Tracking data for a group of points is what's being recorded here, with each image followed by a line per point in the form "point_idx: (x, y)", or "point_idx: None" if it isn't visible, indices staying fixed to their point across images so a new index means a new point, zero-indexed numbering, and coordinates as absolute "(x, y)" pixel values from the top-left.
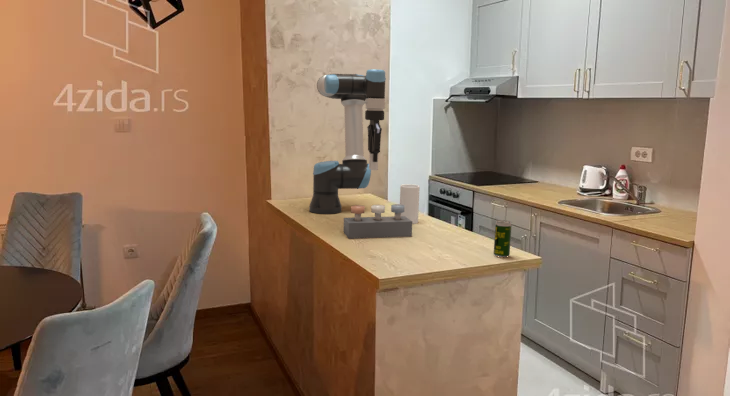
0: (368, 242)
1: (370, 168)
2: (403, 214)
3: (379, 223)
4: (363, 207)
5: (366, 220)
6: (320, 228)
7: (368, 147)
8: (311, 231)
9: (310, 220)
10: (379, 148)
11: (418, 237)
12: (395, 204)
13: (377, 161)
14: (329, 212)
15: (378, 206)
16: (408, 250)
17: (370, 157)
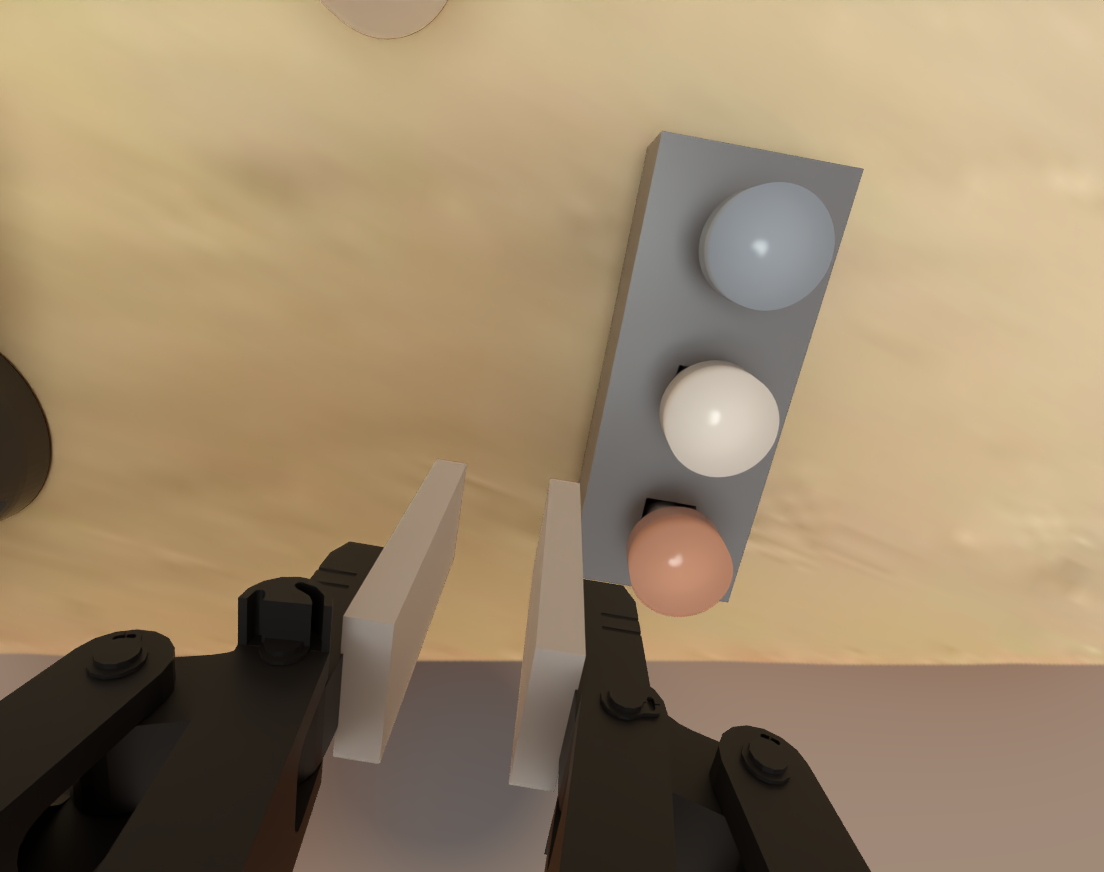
0: (821, 490)
1: (452, 549)
2: (402, 3)
3: (781, 419)
4: (727, 549)
5: (698, 478)
6: (438, 603)
7: (99, 847)
8: (492, 660)
9: (228, 590)
10: (854, 863)
11: (855, 143)
12: (718, 247)
13: (578, 560)
14: (41, 437)
15: (747, 433)
16: (1078, 362)
17: (408, 672)
